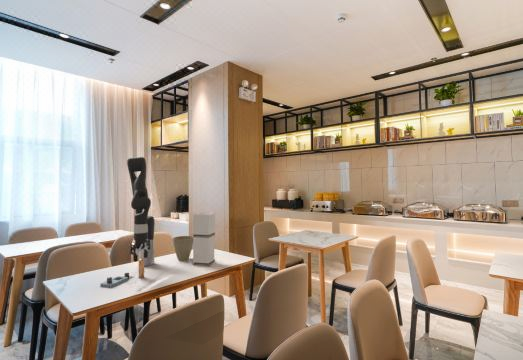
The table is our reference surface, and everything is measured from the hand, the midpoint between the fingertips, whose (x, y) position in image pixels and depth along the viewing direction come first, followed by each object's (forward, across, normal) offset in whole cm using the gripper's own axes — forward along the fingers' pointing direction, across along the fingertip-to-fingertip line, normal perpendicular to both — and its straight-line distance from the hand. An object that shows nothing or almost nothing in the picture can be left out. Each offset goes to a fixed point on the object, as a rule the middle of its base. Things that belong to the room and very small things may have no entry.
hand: (140, 259), depth 168 cm
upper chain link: (+12, +11, -8) cm, 18 cm away
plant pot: (+12, -46, 0) cm, 48 cm away
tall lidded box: (+12, -41, +20) cm, 47 cm away
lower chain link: (+12, +6, -8) cm, 15 cm away
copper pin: (+12, 0, 0) cm, 12 cm away
